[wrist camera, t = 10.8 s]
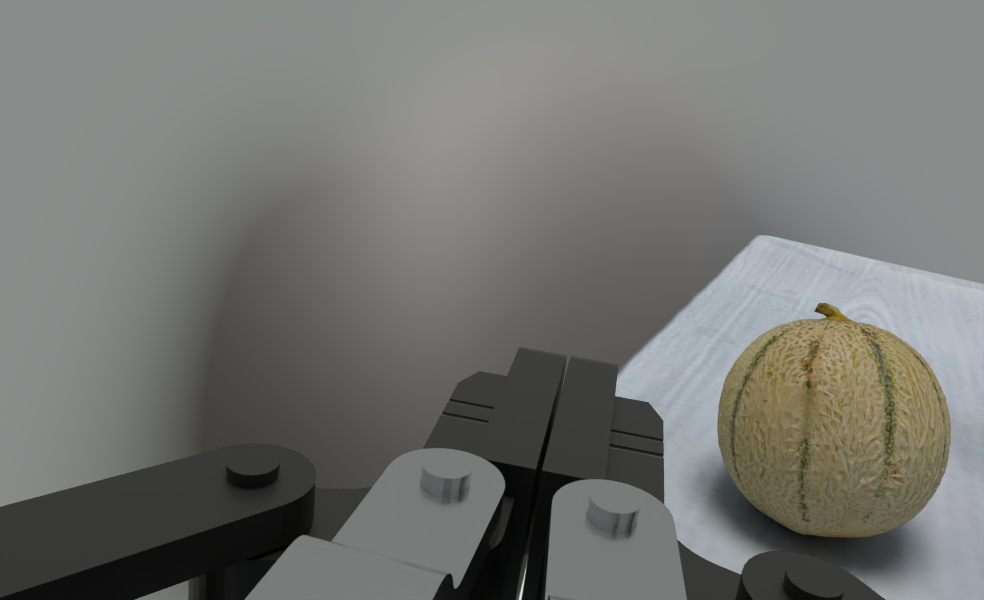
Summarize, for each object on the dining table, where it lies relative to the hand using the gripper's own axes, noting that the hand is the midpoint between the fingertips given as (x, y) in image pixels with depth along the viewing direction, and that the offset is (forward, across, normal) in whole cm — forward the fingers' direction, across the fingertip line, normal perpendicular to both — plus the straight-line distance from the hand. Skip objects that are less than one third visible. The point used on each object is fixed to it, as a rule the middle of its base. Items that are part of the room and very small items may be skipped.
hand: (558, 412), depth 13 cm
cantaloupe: (+44, -16, +26) cm, 54 cm away
